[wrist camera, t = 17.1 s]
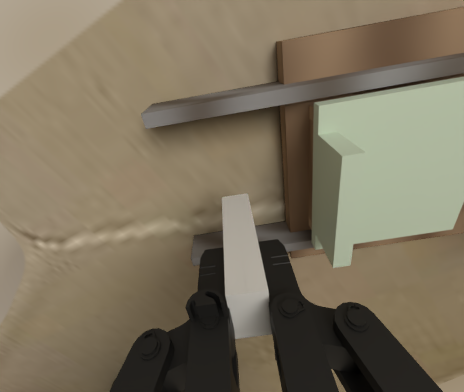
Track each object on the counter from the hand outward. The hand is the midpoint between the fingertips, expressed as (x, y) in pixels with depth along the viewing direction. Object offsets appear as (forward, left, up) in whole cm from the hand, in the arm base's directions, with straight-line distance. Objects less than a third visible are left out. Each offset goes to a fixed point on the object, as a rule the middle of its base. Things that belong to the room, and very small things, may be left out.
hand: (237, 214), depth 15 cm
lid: (+10, 0, -2) cm, 10 cm away
